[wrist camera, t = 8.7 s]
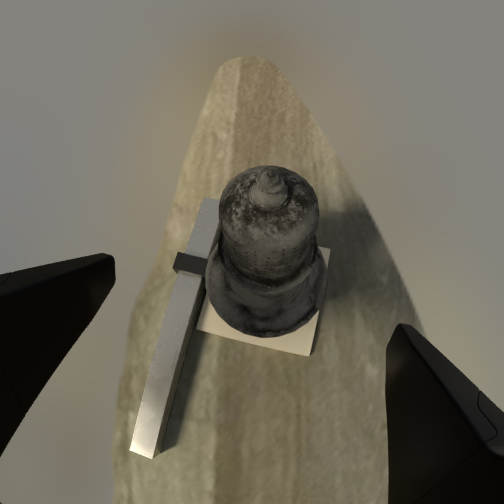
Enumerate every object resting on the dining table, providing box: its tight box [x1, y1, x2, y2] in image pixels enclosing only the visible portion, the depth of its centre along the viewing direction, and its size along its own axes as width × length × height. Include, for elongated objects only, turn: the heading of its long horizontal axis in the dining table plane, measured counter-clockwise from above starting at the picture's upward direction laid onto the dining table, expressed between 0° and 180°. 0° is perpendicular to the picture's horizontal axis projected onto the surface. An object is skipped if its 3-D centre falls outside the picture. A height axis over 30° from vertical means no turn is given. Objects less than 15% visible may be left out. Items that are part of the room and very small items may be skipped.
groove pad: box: [196, 246, 330, 357], centre depth 19 cm, size 7×7×1 cm
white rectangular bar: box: [130, 197, 222, 459], centre depth 17 cm, size 16×2×2 cm, turn 166°
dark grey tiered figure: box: [205, 166, 328, 338], centre depth 13 cm, size 6×6×12 cm
